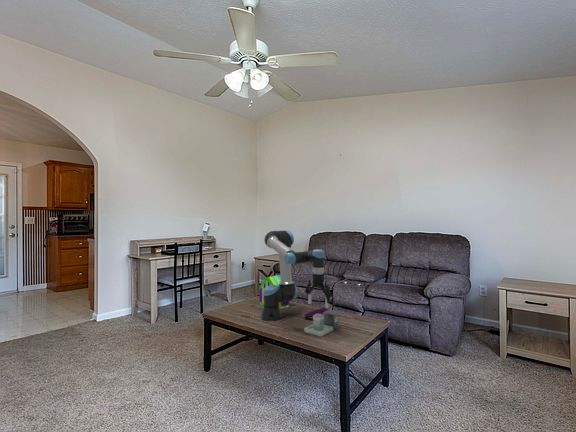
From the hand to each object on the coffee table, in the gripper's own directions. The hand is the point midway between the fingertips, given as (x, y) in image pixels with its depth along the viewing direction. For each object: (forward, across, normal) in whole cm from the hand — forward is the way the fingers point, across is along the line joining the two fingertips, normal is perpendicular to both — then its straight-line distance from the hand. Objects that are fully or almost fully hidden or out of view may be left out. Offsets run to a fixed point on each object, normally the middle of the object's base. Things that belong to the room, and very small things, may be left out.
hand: (318, 305), depth 215 cm
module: (+16, +1, 0) cm, 16 cm away
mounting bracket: (+18, -16, +19) cm, 31 cm away
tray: (+17, +1, 0) cm, 17 cm away
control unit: (+17, +3, +11) cm, 20 cm away
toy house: (+18, -64, +28) cm, 72 cm away
